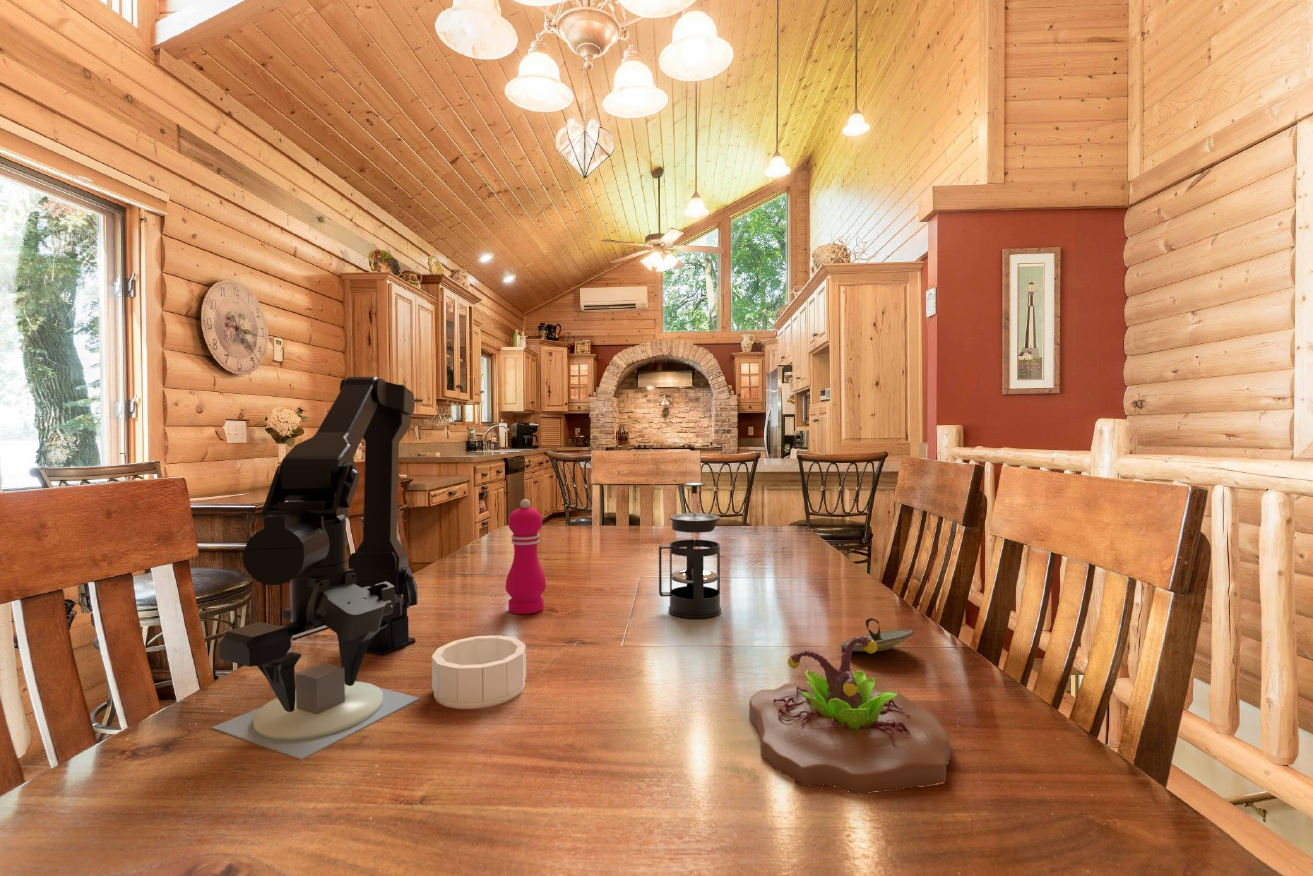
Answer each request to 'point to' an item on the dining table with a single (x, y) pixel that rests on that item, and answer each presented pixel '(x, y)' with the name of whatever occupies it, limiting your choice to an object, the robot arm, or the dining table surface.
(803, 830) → the dining table surface
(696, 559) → the french press
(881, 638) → the lid
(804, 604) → the dining table surface
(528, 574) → the pepper mill
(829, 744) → the plant
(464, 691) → the bowl
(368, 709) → the cover
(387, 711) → the mat
